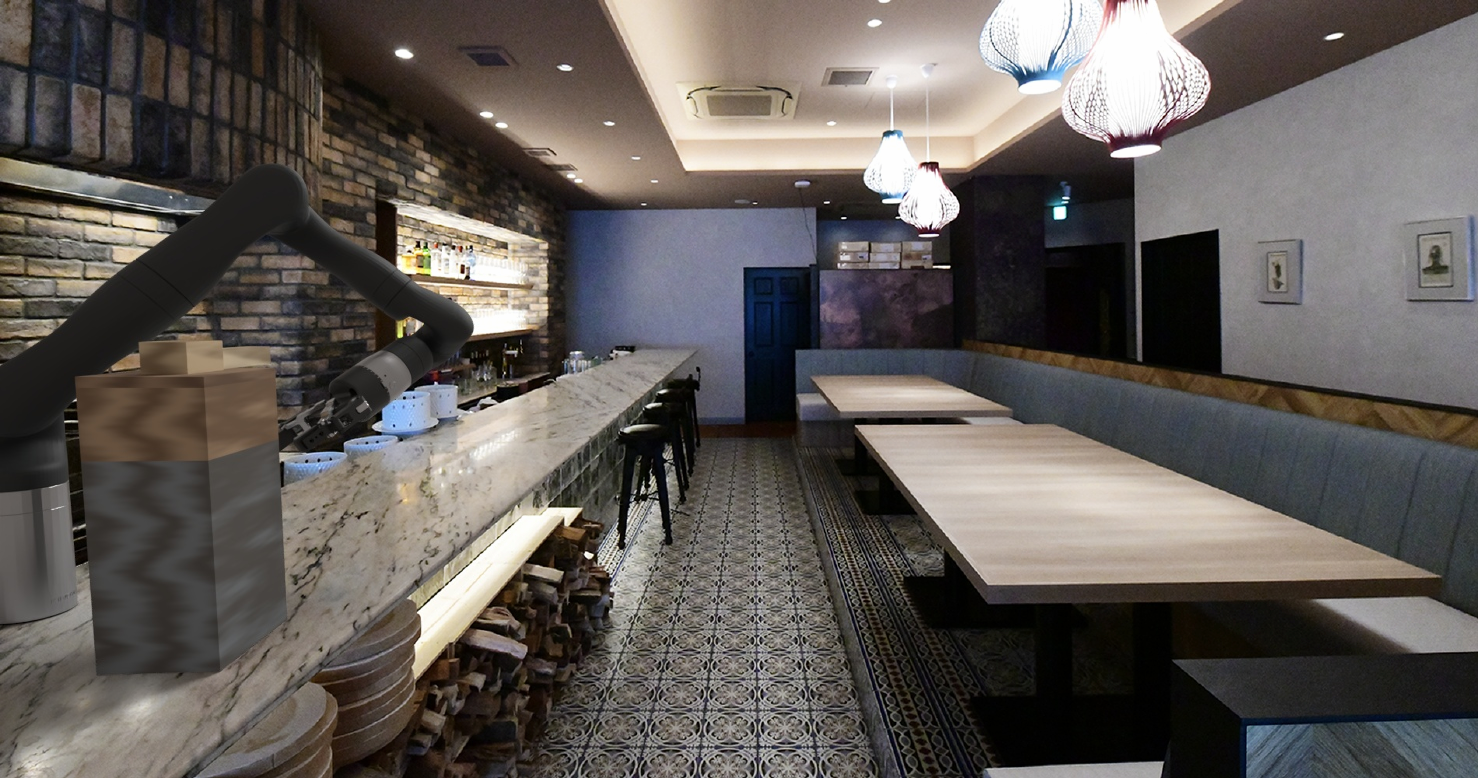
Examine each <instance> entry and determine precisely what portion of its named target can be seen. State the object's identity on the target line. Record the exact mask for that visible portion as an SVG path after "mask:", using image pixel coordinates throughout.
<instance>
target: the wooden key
mask: <svg viewBox="0 0 1478 778" xmlns="http://www.w3.org/2000/svg"><path fill="white" fill-rule="evenodd" d="M138 353H139V354H138V355H139V367H140V368H139V370H140V371H141V374H194V373H202V372H211V371H220V370H224V369H229V368H248V367H253V366H264V365H270V364H272V361H271V357H272V356H271V346H262V345H261V346H259V345H258V346H257V345H256V346H253V345H252V346H251V345H250V346H248V345H247V346H246V345H245V346H235V347H234V346H233V347H232V346H231V347H223V340H206V339H205V340H203V339H202V340H200V339H199V340H197V339H196V340H195V339H194V340H191V339H190V340H187V339H186V340H184V339H183V340H182V339H180V340H156V341H155V340H154V341H149V342H139V349H138Z"/></svg>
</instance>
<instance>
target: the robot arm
mask: <svg viewBox="0 0 1478 778" xmlns="http://www.w3.org/2000/svg"><path fill="white" fill-rule="evenodd" d="M265 236H269V237H271V238H272V239H274V240H276V241H277V242H279V243H282V244H284V245H285V246H287V247H289V248H290V249H293V250H295V251H296V252H298V253H300V254H301V255H303V256H305V257H306V258H308V259H309V260H311V261H313V262H314V263H315V264H318V266H321V267H322V269H325V270H327V271H328V272H329V273H330V274H332V275H334V276H335V277H336V278H337V279H339V280H340V281H341V282H343V283H344V284H346V286H348V287H349V288H351V289H352V290H354V291H355V292H356V293H357V294H359V295H360V296H361V297H362V298H364V299H365V300H366V301H368V302H369V303H371V304H372V305H373V306H375V307H376V308H377V309H379V310H380V311H381V312H383V313H384V314H385V315H386V316H388V317H390V318H391V319H393V320H395V321H398V322H399V321H405V320H406V319H408V318H411V319H413V320H416V321H418V322H420V323H421V324H423V325H421V326H420V327H419V328H418V329H417V330H416V331H415V332H413V333H412V334H410V335H403V336H402V337H399V338H397V339H395V340H394V341H392V342H391V343H389V344H388V345H386V346H384V347H383V348H382V349H380V350H379V351H377V352H375V353H372V354H371V355H369V356H367V357H365V358H363V359H362V360H361V361H359V362H358V363H356V364H355V365H353V366H351V368H349V369H347V370H346V371H345V372H343V373H341V374H340V375H339V376H337V377H336V378H334V379H332V381H331V382H330V383H329V386H328V393H329V399H328V400H326V399H322V400H320V401H318V402H316V403H312V404H311V403H310V404H309V405H308V406H306V407H305V408H303V409H302V410H300V411H299V412H297V413H296V414H294V415H293V416H291V417H290V418H288V419H287V420H285V421H284V422H281V423H280V424H278V429H279V430H278V437H279V453H280V452H281V451H283V450H284V449H285V448H287V447H288V446H290V445H291V444H292V443H293V445H294V446H295V447H296V449H297V450H298V452H300V453H301V454H305V453H308V452H310V451H311V450H313V449H314V448H315V447H317V446H318V445H319V444H321V443H322V442H324V441H325V440H327V438H328V439H330V438H333V437H335V435H337V434H338V435H342V434H345V433H346V431H348V430H349V429H351V427H353V426H355V425H356V424H357V423H359V422H360V423H363V422H367V421H368V420H370V419H371V418H372V417H374V416H375V415H377V414H378V413H380V411H382V410H383V409H384V408H386V407H387V406H389V405H390V404H391V403H393V401H395V400H396V399H398V398H399V397H400V396H401V395H402V394H404V392H405V391H406V390H407V389H408V388H410V387H411V386H412V385H413V384H415V383H416V382H417V381H419V379H422V378H423V377H424V376H425V375H426V374H428V372H430V371H431V370H433V369H436V368H437V367H439V366H441V365H442V364H445V363H446V362H447V361H448V360H450V359H451V358H452V357H454V356H455V355H456V354H457V353H458V352H459V351H460V350H461V348H462V347H463V346H464V345H465V344H466V343H467V342H468V341H469V340H470V339H471V337H472V335H473V334H474V329H475V326H474V325H475V323H474V321H473V318H472V317H471V315H470V314H469V312H468V311H467V310H466V309H465V308H464V307H463V306H462V305H460V304H458V303H457V302H455V301H454V300H452V299H450V298H447V297H445V296H444V295H442V294H439V293H437V292H435V291H433V290H431V289H428V288H426V287H423V286H422V285H421V286H420V284H418V283H416V281H415V280H413V279H412V278H411V277H410V276H408V275H407V274H406V273H404V272H403V271H402V270H401V269H399V268H398V267H396V266H395V265H394V264H393V263H391V262H390V261H389V260H386V258H384V257H382V256H380V255H378V254H377V253H376V252H373V251H372V250H370V249H367V248H366V247H364V246H362V245H360V244H358V243H356V242H354V241H353V240H351V239H348V238H347V237H346V236H344V235H342V233H340V232H339V231H338V230H336V229H335V228H333V227H332V226H330V225H329V223H327V222H326V221H325V220H324V219H323V218H322V217H321V216H320V215H319V214H318V213H317V212H316V211H315V210H314V209H313V208H312V207H311V205H310V195H309V191H308V187H307V183H306V182H305V180H304V178H303V177H302V175H300V173H298V171H296V170H294V169H293V168H291V167H290V166H287V165H284V164H281V163H272V162H269V163H263V164H258V165H256V166H254V167H251V168H249V169H247V170H246V171H245V172H244V173H243V174H241V176H239V177H238V178H237V179H236V180H235V181H234V182H233V183H232V184H231V185H229V187H228V188H227V189H226V190H225V191H224V192H223V193H222V194H220V196H219V197H217V198H216V199H215V200H214V201H213V202H212V203H210V205H209V206H208V207H207V208H205V209H204V210H203V211H202V212H200V213H199V214H198V215H197V216H195V217H194V218H192V219H190V220H189V221H188V222H187V223H184V224H183V225H182V226H181V227H179V228H178V229H176V230H174V231H173V232H171V234H169V235H167V236H165V237H164V238H163V239H162V240H161V241H159V242H157V244H155V245H154V246H152V247H150V248H149V249H148V250H147V251H145V252H143V253H142V254H141V255H139V256H137V257H136V258H135V259H133V260H132V261H130V262H129V263H128V264H126V265H125V266H124V267H123V268H121V269H119V271H117V272H116V273H115V274H113V275H112V276H111V277H110V278H108V279H107V280H106V281H105V282H104V283H102V284H101V285H100V286H99V287H98V288H97V289H96V290H95V291H94V292H93V293H92V294H90V295H89V296H88V297H87V298H86V299H85V300H84V301H83V302H82V303H81V304H80V305H79V306H78V307H77V308H76V309H75V311H73V312H72V314H70V316H68V318H66V320H65V321H64V322H62V324H60V325H59V326H58V327H57V328H56V329H55V330H53V331H52V332H51V333H48V335H47V336H45V337H44V338H42V339H41V340H39V341H38V342H36V343H34V344H33V345H31V346H30V347H28V348H26V349H25V350H23V351H22V352H21V353H19V354H17V355H15V356H13V357H12V358H10V359H8V360H7V361H5V362H3V363H1V364H0V625H3V624H4V625H6V624H16V623H17V624H18V623H23V622H30V621H35V620H41V619H45V618H49V617H51V616H55V615H58V614H62V613H64V612H66V611H68V610H71V609H72V608H74V607H75V606H77V605H78V603H79V600H78V599H79V597H78V586H77V585H78V584H77V569H76V558H75V557H76V556H75V555H76V554H75V545H74V531H73V516H72V506H71V505H72V504H71V492H70V478H69V476H70V475H69V461H68V460H69V459H68V450H67V449H68V448H67V442H66V440H67V439H66V438H67V437H66V429H65V427H66V425H65V413H64V412H65V410H66V409H67V408H68V407H69V406H70V405H71V404H72V403H74V401H75V400H77V399H76V385H75V377H78V376H88V375H98V374H105V372H106V371H107V370H109V369H110V368H111V367H112V366H114V365H116V364H117V363H118V362H120V361H122V360H123V359H125V358H126V357H128V356H130V355H131V354H133V353H134V352H136V351H137V350H139V342H152V340H154V339H156V337H159V336H160V335H161V334H162V333H164V332H165V331H167V330H168V329H169V328H170V327H172V326H173V325H175V324H176V323H177V322H178V321H179V320H180V319H182V318H184V316H185V315H187V314H188V313H189V312H190V311H192V310H193V309H194V308H195V307H197V306H198V305H199V304H200V303H201V302H202V301H203V300H205V299H206V297H207V296H208V295H209V294H210V293H211V292H212V291H213V290H214V288H216V287H217V285H218V284H219V283H220V281H221V280H222V278H223V277H224V276H225V275H226V274H227V272H228V271H229V269H230V268H231V266H233V265H234V263H235V261H236V260H237V259H238V258H239V257H240V256H241V255H242V254H243V253H244V252H245V251H246V250H247V249H248V248H250V247H251V246H252V245H253V244H255V243H257V241H259V240H261V239H262V238H263V237H265ZM295 426H298V429H296V430H295V429H294V428H293V427H295Z"/></svg>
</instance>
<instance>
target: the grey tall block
mask: <svg viewBox="0 0 1478 778" xmlns="http://www.w3.org/2000/svg"><path fill="white" fill-rule="evenodd" d="M276 380H277V377H276V368H275V367H238V368H229V369H224V370H220V371H211V372H202V373H194V374H141V371H140V369H139V370H130V371H122V372H121V371H119V372H112V373H111V372H110V373H102V374H98V375H88V376H78V377H75V385H76V399H75V400H76V411H77V424H78V425H77V426H78V437H79V438H78V439H79V453H80V464H81V465H80V466H81V479H82V480H81V481H82V494H83V506H84V508H83V509H84V521H85V535H86V536H85V537H86V547H87V549H86V550H87V561H88V574H89V575H88V577H89V590H90V603H91V604H90V605H91V606H90V607H91V619H92V631H93V633H92V634H93V644H94V647H93V648H94V657H95V658H94V659H95V670H96V672H95V673H96V676H113V675H114V676H116V675H117V676H118V675H146V674H147V675H149V674H173V673H174V674H175V673H176V674H178V673H179V674H180V673H205V672H206V673H208V672H209V673H210V672H222V671H223V670H224V669H225V668H227V667H228V666H230V664H232V663H233V662H234V661H236V660H237V659H238V658H239V657H241V656H242V655H243V654H245V652H247V651H248V650H250V649H251V648H252V647H254V646H255V645H256V644H258V642H260V641H261V640H262V639H264V638H265V637H266V636H267V635H269V634H270V633H271V632H273V630H275V629H276V628H278V627H279V626H280V625H282V624H283V623H285V622H286V621H287V620H288V608H287V607H288V605H287V589H286V588H287V587H286V586H287V585H286V566H285V565H286V564H285V563H286V562H285V547H284V545H285V544H284V543H285V541H284V525H283V524H284V523H283V522H284V521H283V520H284V519H283V503H282V485H281V480H282V479H281V463H280V460H281V459H280V452H279V437H278V432H279V427H278V426H279V419H278V402H277V401H278V400H277V397H278V396H277V381H276Z"/></svg>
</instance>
